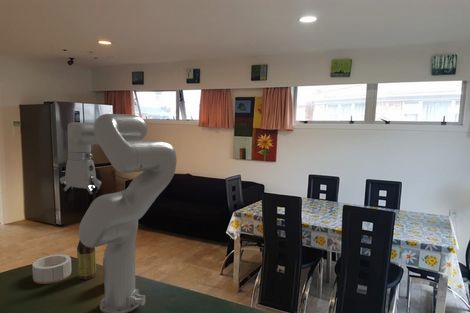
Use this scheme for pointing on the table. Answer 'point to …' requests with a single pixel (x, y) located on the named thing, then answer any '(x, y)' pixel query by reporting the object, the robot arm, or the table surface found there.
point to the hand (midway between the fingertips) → (80, 202)
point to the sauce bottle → (86, 261)
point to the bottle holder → (51, 269)
